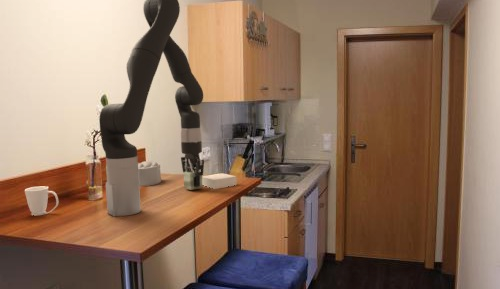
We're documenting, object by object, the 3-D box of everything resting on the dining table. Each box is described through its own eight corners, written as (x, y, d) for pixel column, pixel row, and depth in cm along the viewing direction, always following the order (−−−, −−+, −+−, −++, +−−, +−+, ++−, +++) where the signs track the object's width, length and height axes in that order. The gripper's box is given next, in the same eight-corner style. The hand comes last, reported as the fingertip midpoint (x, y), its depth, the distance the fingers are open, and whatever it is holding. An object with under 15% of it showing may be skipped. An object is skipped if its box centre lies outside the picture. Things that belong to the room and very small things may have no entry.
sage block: (190, 189, 165) (189, 173, 164) (184, 187, 169) (183, 172, 168) (202, 187, 168) (201, 172, 167) (196, 186, 172) (195, 170, 171)
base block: (214, 189, 168) (214, 179, 168) (201, 185, 176) (200, 176, 176) (236, 185, 174) (236, 176, 173) (222, 181, 182) (222, 173, 181)
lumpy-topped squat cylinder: (163, 179, 191) (162, 159, 190) (155, 186, 178) (153, 164, 177) (139, 180, 192) (137, 160, 191) (129, 186, 179) (127, 165, 178)
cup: (34, 211, 144) (31, 186, 143) (64, 210, 143) (62, 185, 142) (21, 217, 137) (19, 191, 136) (53, 216, 136) (51, 190, 135)
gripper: (173, 140, 170) (175, 184, 172) (191, 142, 158) (193, 189, 160) (191, 138, 174) (192, 181, 176) (209, 140, 163) (211, 186, 164)
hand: (193, 185), depth 168 cm, fingers closed on sage block, 5 cm apart
